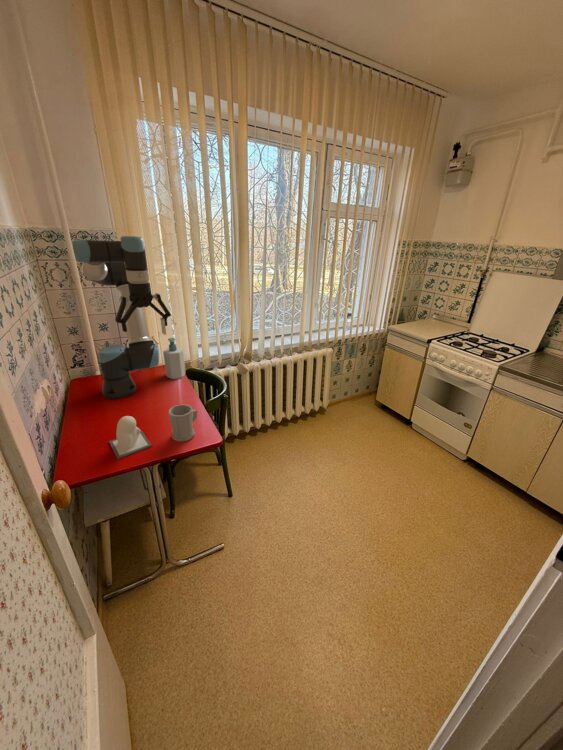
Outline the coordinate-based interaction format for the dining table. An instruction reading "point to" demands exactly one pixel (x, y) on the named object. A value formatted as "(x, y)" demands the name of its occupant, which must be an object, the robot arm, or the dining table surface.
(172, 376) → the soap bottle
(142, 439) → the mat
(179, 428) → the cup
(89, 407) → the dining table surface
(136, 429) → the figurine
